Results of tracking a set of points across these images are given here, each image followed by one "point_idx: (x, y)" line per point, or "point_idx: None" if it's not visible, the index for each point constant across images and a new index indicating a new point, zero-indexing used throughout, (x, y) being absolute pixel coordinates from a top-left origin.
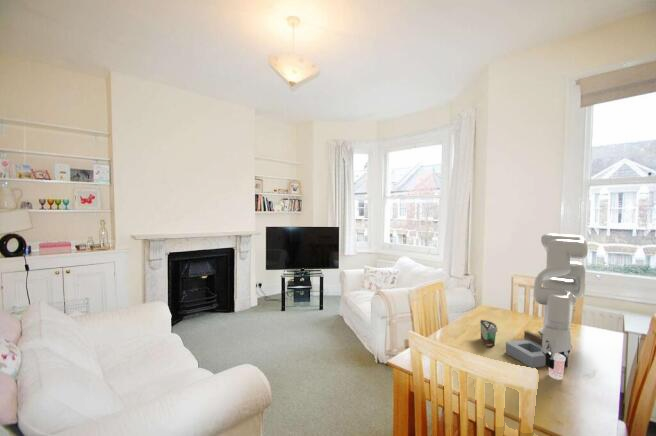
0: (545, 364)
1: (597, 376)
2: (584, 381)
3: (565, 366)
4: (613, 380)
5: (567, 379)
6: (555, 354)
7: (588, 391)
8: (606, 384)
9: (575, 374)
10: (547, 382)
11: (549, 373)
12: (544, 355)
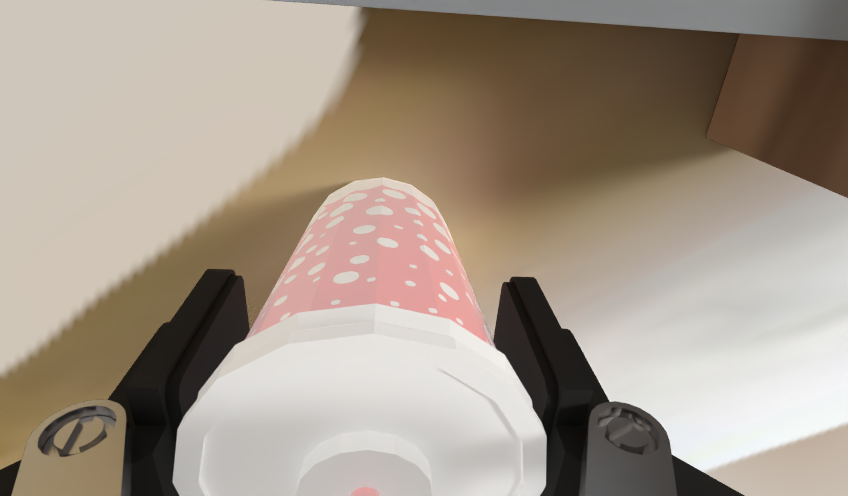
0: (204, 273)
1: (805, 349)
2: None
3: None
4: (838, 417)
5: None
6: (369, 475)
7: None
8: (702, 437)
9: (650, 272)
10: (165, 297)
11: (309, 225)
12: (516, 16)
